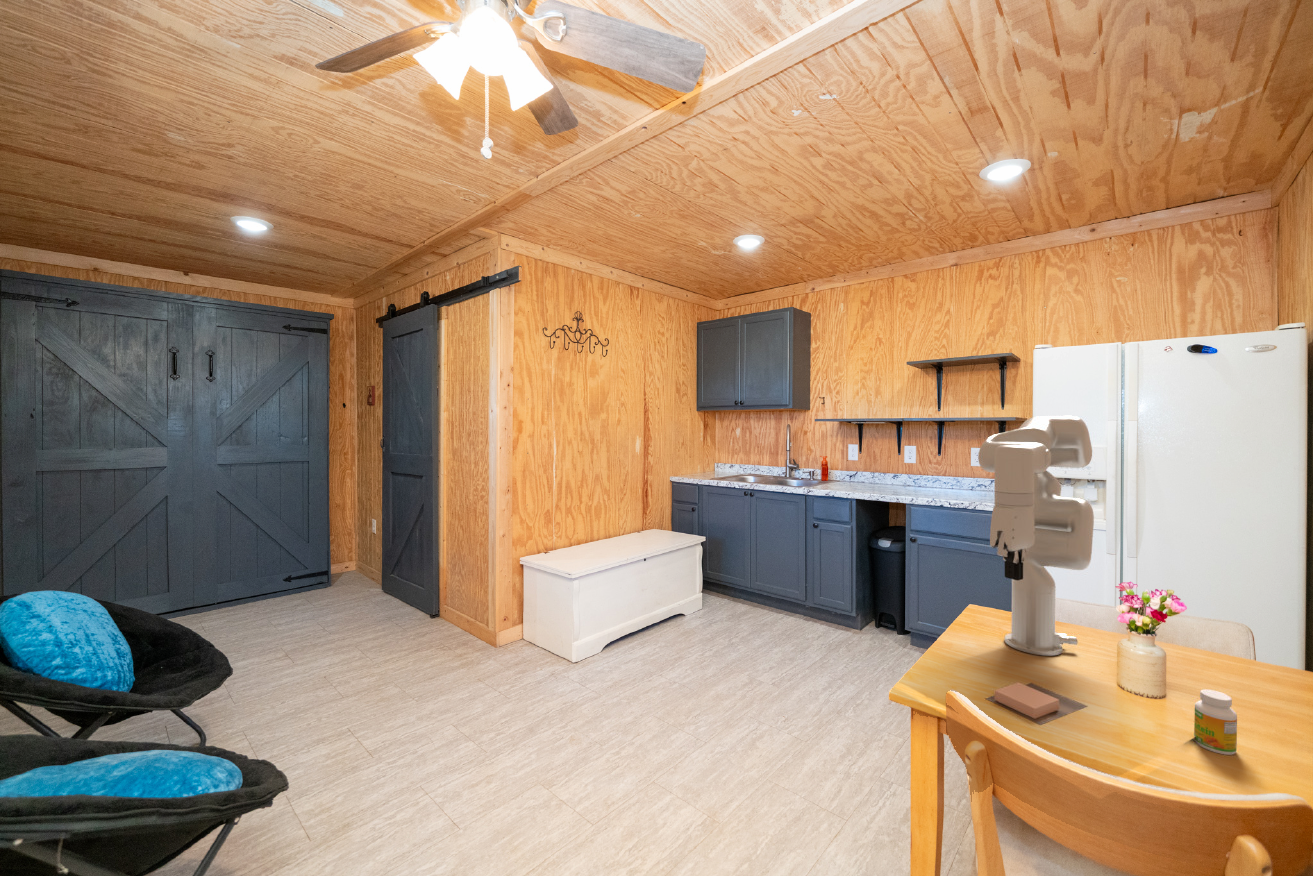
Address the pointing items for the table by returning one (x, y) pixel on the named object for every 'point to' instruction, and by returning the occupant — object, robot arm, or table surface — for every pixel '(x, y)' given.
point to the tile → (1026, 700)
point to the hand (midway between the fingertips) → (1013, 578)
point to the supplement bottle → (1215, 723)
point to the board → (1064, 708)
